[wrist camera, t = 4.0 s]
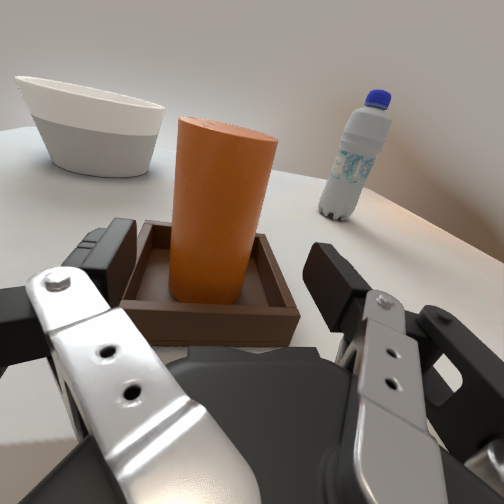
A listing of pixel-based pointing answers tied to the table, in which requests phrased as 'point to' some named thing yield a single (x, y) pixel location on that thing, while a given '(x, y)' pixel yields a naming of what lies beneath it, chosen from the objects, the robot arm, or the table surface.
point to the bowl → (93, 127)
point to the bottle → (356, 155)
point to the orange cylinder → (216, 208)
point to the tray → (208, 315)
